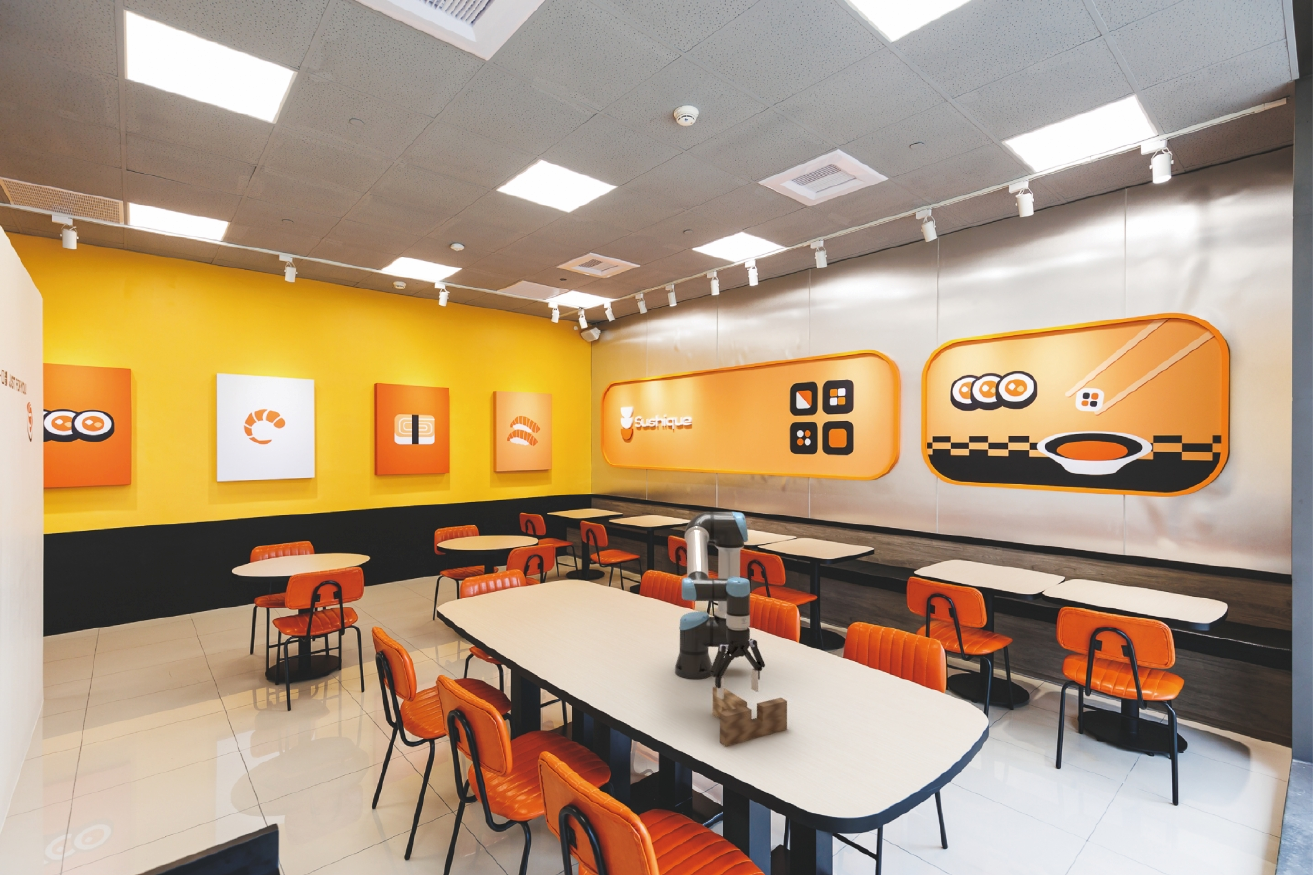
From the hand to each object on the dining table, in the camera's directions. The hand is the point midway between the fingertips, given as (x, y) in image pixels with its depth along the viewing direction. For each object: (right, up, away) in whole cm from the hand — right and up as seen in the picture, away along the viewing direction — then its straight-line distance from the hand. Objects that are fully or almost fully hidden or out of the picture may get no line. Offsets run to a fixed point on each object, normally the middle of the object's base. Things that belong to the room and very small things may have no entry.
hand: (737, 693), depth 194 cm
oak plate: (-2, -11, +4) cm, 12 cm away
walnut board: (+4, -11, -5) cm, 13 cm away
